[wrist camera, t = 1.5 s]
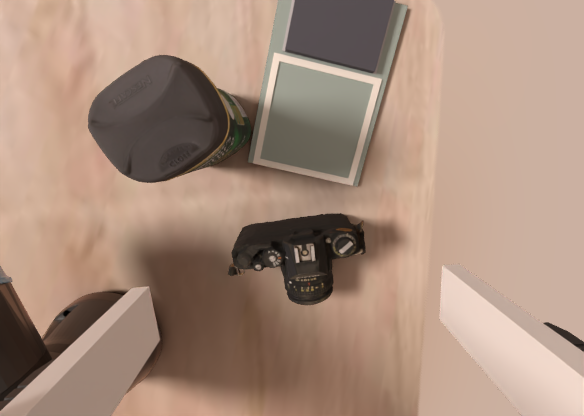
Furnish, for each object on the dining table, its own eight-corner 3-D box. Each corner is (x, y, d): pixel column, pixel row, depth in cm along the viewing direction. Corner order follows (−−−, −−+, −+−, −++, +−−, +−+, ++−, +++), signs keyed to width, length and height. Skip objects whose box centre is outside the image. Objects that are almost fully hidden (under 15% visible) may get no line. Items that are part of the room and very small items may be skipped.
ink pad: (282, 51, 35) (281, 47, 33) (296, -24, 33) (297, -30, 32) (375, 74, 35) (378, 71, 34) (394, 2, 34) (398, -3, 32)
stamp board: (248, 161, 38) (247, 162, 37) (283, -24, 33) (283, -28, 33) (356, 185, 39) (357, 186, 38) (405, 8, 34) (408, 5, 33)
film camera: (265, 304, 43) (258, 352, 34) (226, 234, 41) (206, 264, 31) (374, 256, 42) (400, 292, 32) (340, 180, 39) (357, 193, 29)
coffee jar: (202, 175, 39) (125, 206, 21) (166, 123, 37) (49, 107, 19) (262, 137, 38) (237, 133, 19) (228, 82, 36) (166, 22, 18)
